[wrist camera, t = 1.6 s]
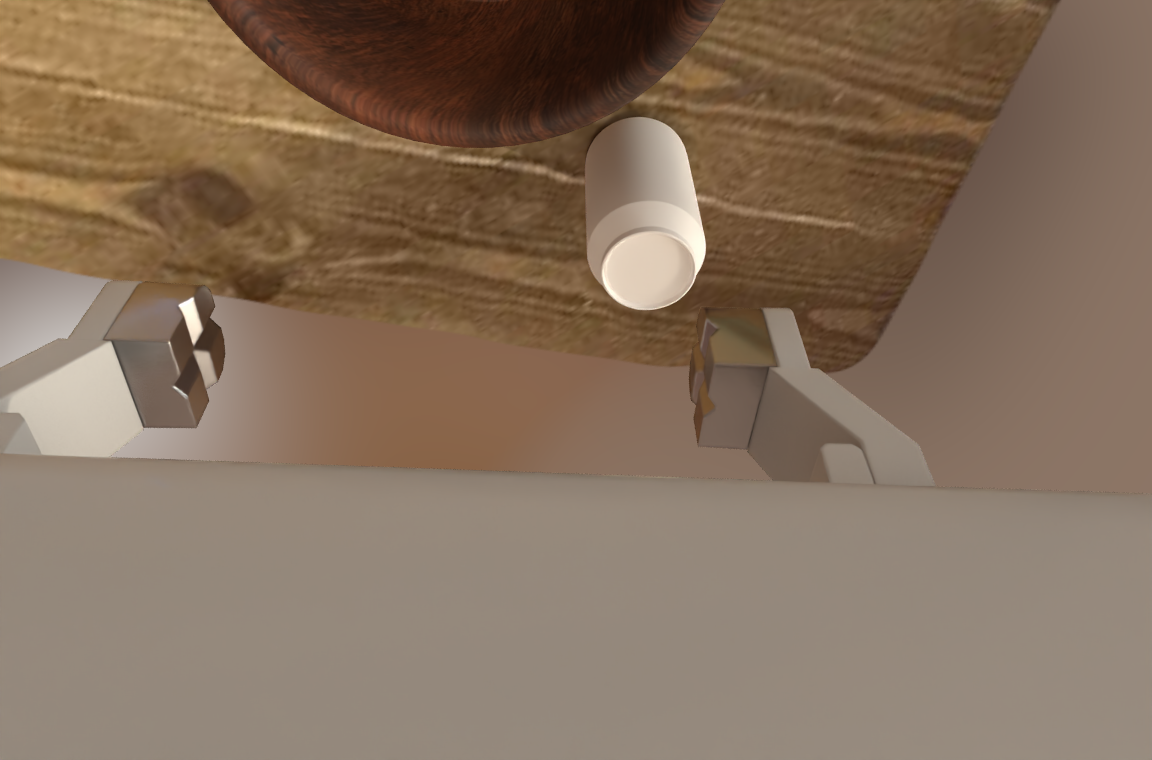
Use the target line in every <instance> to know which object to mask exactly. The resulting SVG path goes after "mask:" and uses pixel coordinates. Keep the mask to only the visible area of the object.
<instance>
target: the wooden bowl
mask: <svg viewBox="0 0 1152 760" xmlns="http://www.w3.org/2000/svg"><path fill="white" fill-rule="evenodd" d="M208 2H209V3H210V4H211V6H212V7H213V8H214V9H215V11H216V12H217V13H218V14H219V16H220V17H221V18H222V20H223V21H224V22H225V23H226V24H227V25H228V26H229V27H230V28H231V29H232V31H233V32H234V33H235V34H236V35H237V36H238V37H239V38H240V39H241V40H242V41H243V43H244V44H245V45H246V46H248V47H249V48H250V49H251V50H252V51H253V52H254V53H255V54H256V55H257V56H258V57H259V58H260V59H261V60H263V61H264V62H265V63H266V64H267V65H268V66H269V67H271V68H272V69H273V70H274V71H276V72H277V73H278V74H279V75H281V76H282V77H283V78H284V79H286V80H287V81H288V82H289V83H291V84H292V85H294V86H295V87H297V88H298V89H300V90H301V91H302V92H304V93H305V94H307V95H308V96H310V97H311V98H313V99H314V100H316V101H318V102H320V103H321V104H323V105H325V106H327V107H329V108H330V109H332V110H334V111H336V112H337V113H339V114H341V115H344V116H346V117H348V118H350V119H352V120H354V121H357V122H359V123H361V124H363V125H366V126H368V127H371V128H374V129H377V130H379V131H382V132H385V133H388V134H391V135H395V136H398V137H402V138H406V139H409V140H413V141H418V142H424V143H429V144H435V145H441V146H452V147H463V148H493V147H504V146H515V145H521V144H526V143H531V142H537V141H542V140H545V139H549V138H552V137H556V136H559V135H563V134H566V133H569V132H571V131H574V130H576V129H579V128H582V127H584V126H587V125H589V124H591V123H593V122H595V121H597V120H599V119H601V118H603V117H605V116H607V115H609V114H611V113H613V112H615V111H616V110H618V109H619V108H621V107H623V106H624V105H626V104H628V103H629V102H631V101H632V100H634V99H635V98H637V97H638V96H639V95H641V94H642V93H643V92H645V91H646V90H647V89H649V88H650V87H651V86H653V85H654V84H655V83H656V82H657V81H659V80H660V79H661V78H662V77H663V76H664V75H665V74H666V73H667V72H668V71H670V70H671V69H672V68H673V67H674V66H675V65H676V64H677V63H678V62H679V61H680V60H681V59H682V57H683V56H684V55H685V54H686V53H687V52H688V51H689V50H690V49H691V48H692V47H693V45H694V44H695V43H696V42H697V40H698V39H699V38H700V36H701V35H702V34H703V33H704V31H705V30H706V29H707V27H708V26H709V25H710V23H711V22H712V21H713V19H714V17H715V16H716V14H717V13H718V11H719V10H720V8H721V6H722V5H723V3H724V2H725V0H208Z"/></svg>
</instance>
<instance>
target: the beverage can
mask: <svg viewBox="0 0 1152 760" xmlns="http://www.w3.org/2000/svg"><path fill="white" fill-rule="evenodd" d="M585 196H586V231H587V258H588V263H589V266H590V269H591V271H592V273H593V275H594V276H595V278H596V279H597V280H598V282H599V283H600V284H601V285H602V286H604V288H605V290H606V291H607V293H608V294H609V295H610V296H611V297H612V298H613V299H614V300H616V301H617V302H618V303H620V304H622V305H624V306H627V307H630V308H633V309H639V310H653V309H659V308H663V307H666V306H668V305H670V304H672V303H674V302H676V301H678V300H679V299H680V298H682V297H683V296H684V295H685V294H686V293H687V292H688V290H689V289H690V288H691V286H692V284H693V282H694V280H695V277H696V274H697V273H698V271H699V270H700V268H701V266H702V263H703V261H704V257H705V250H706V244H705V237H704V232H703V227H702V223H701V218H700V213H699V208H698V204H697V199H696V194H695V189H694V184H693V180H692V175H691V170H690V166H689V161H688V157H687V153H686V150H685V147H684V145H683V143H682V141H681V139H680V138H679V136H678V135H677V134H676V133H675V131H674V130H672V129H671V128H670V127H669V126H667V125H666V124H664V123H662V122H660V121H658V120H655V119H651V118H645V117H632V118H626V119H622V120H619V121H617V122H614V123H612V124H611V125H609V126H607V127H606V128H605V129H603V130H602V131H601V132H600V133H599V134H598V135H597V136H596V137H595V139H594V140H593V142H592V143H591V145H590V147H589V150H588V153H587V156H586V161H585Z"/></svg>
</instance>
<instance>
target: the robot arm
mask: <svg viewBox="0 0 1152 760" xmlns="http://www.w3.org/2000/svg"><path fill="white" fill-rule="evenodd" d="M214 308H215V304H214V300H213V297H212V294H211V291H210V289H209V288H207V287H206V286H205V285H195V284H179V283H163V282H147V281H145V282H141V281H126V280H113V281H110V282H107V283H106V284H105V286H104V287H103V289H102V290H101V292H100V293H99V295H98V296H97V297H96V299H95V300H94V302H93V303H92V305H91V306H90V307H89V309H88V310H87V312H86V313H85V315H84V316H83V318H82V319H81V320H80V322H79V323H78V325H77V326H76V327H75V329H74V330H73V332H72V333H71V335H70V336H69V338H68V339H57V340H55V341H52V342H51V343H49V344H47V345H45V346H43V347H41V348H39V349H37V350H35V351H33V352H31V353H29V354H27V355H25V356H23V357H21V358H19V359H17V360H15V361H13V362H11V363H9V364H7V365H5V366H3V367H1V368H0V760H1152V494H1143V493H1118V492H1088V491H1087V492H1086V491H1057V490H1056V491H1055V490H1054V491H1053V490H1026V489H1025V490H1024V489H995V488H964V487H937V486H935V483H934V481H933V478H932V476H931V473H930V471H929V468H928V466H927V464H926V461H925V459H924V456H923V454H922V451H921V449H920V447H919V445H918V444H917V443H916V442H914V441H913V440H911V439H910V438H909V437H908V436H906V435H905V434H904V433H902V432H901V431H900V430H899V429H897V428H896V427H895V426H893V425H892V424H891V423H889V422H888V421H887V420H885V419H884V418H883V417H881V416H880V415H879V414H877V413H876V412H875V411H873V410H872V409H870V407H868V406H867V405H865V404H864V403H863V402H862V401H860V400H859V399H858V398H856V397H855V396H854V395H852V394H851V393H850V392H849V391H847V390H846V389H844V388H843V387H842V386H841V385H839V384H838V383H837V382H835V381H834V380H833V379H831V378H830V377H829V376H827V375H826V374H825V373H824V372H822V371H821V370H820V369H811V368H810V365H809V362H808V358H807V355H806V352H805V349H804V346H803V343H802V339H801V336H800V333H799V330H798V327H797V324H796V321H795V317H794V314H793V311H792V310H790V309H789V308H760V309H755V308H725V307H701V308H700V311H699V314H698V319H697V324H696V328H697V335H698V341H699V342H697V343H696V344H695V345H694V346H693V347H692V353H691V360H690V371H689V388H690V397H691V401H692V402H693V403H694V404H695V405H696V409H695V414H694V424H695V430H696V437H697V443H698V446H700V447H714V448H731V449H747V450H748V451H747V452H748V453H749V454H750V455H751V456H752V457H753V459H754V460H755V461H756V462H757V463H758V464H759V465H760V467H761V468H762V469H763V470H764V471H765V472H766V473H767V475H768V476H769V477H770V478H771V479H772V480H773V481H770V480H742V479H715V478H713V479H712V478H687V477H658V476H630V475H628V476H627V475H601V474H599V475H598V474H572V473H571V474H570V473H543V472H514V471H486V470H458V469H457V470H456V469H430V468H429V469H428V468H401V467H400V468H399V467H373V466H371V467H370V466H345V465H316V464H287V463H260V462H231V461H203V460H202V461H201V460H175V459H147V458H117V457H111V456H112V455H113V454H114V453H116V452H117V451H118V450H119V449H121V448H122V447H123V446H124V445H126V444H127V443H128V442H129V441H131V440H132V439H133V438H135V437H136V436H137V435H138V434H140V433H141V432H142V431H143V430H144V428H197V426H198V424H199V421H200V419H201V417H202V415H203V413H204V411H205V409H206V406H207V404H208V402H209V398H208V394H207V391H206V389H208V388H209V387H211V386H213V385H214V384H216V383H217V382H218V380H219V378H220V375H221V373H222V371H223V364H224V358H225V345H224V338H223V334H222V330H221V327H219V326H218V325H217V324H216V323H215V322H214V321H213V320H212V319H211V318H210V316H211V314H212V312H213V310H214Z"/></svg>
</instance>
